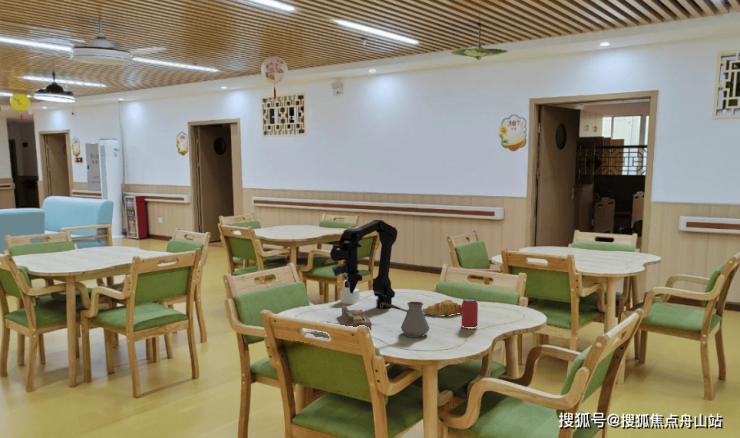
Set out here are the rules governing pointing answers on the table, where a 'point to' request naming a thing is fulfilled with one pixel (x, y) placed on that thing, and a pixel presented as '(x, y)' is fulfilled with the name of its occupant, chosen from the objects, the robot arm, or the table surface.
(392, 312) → the table surface
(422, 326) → the coffee pot
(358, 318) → the brass clip block
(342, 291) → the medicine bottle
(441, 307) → the croissant
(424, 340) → the table surface
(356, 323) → the guide board
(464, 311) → the beer can
